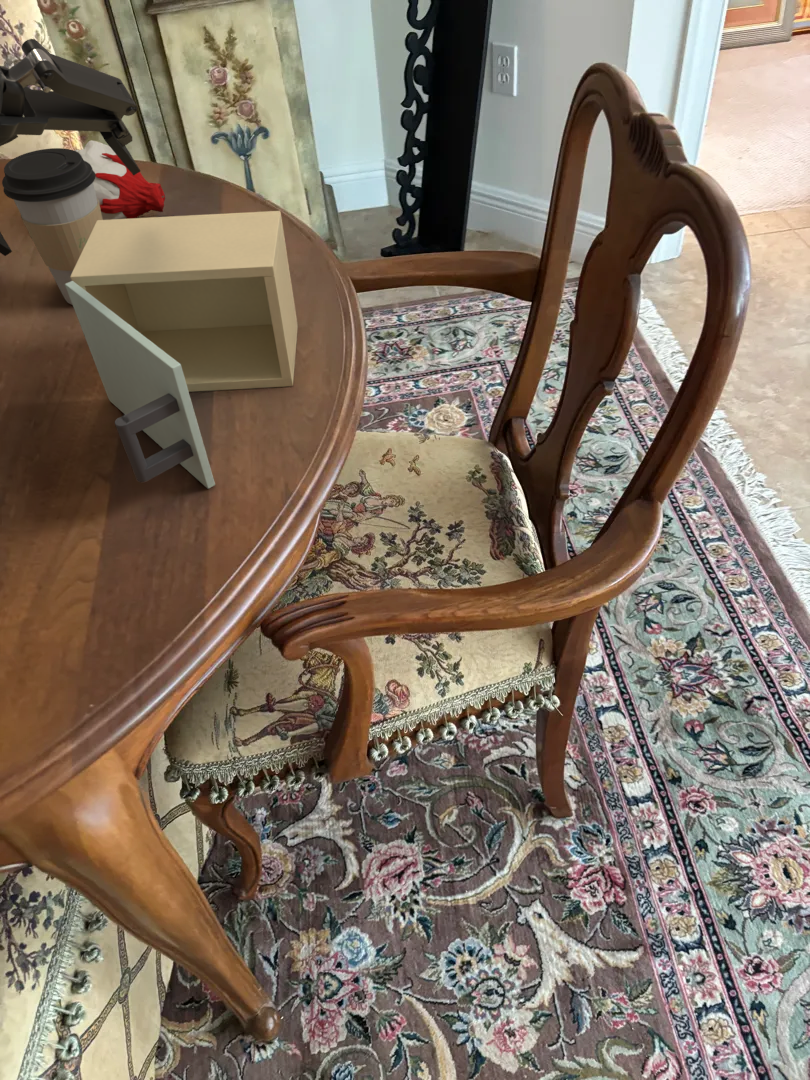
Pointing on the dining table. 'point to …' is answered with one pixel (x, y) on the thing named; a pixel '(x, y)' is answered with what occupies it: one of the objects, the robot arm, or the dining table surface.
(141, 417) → the cupboard door
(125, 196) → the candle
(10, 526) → the dining table surface
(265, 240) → the cupboard
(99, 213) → the coffee cup
